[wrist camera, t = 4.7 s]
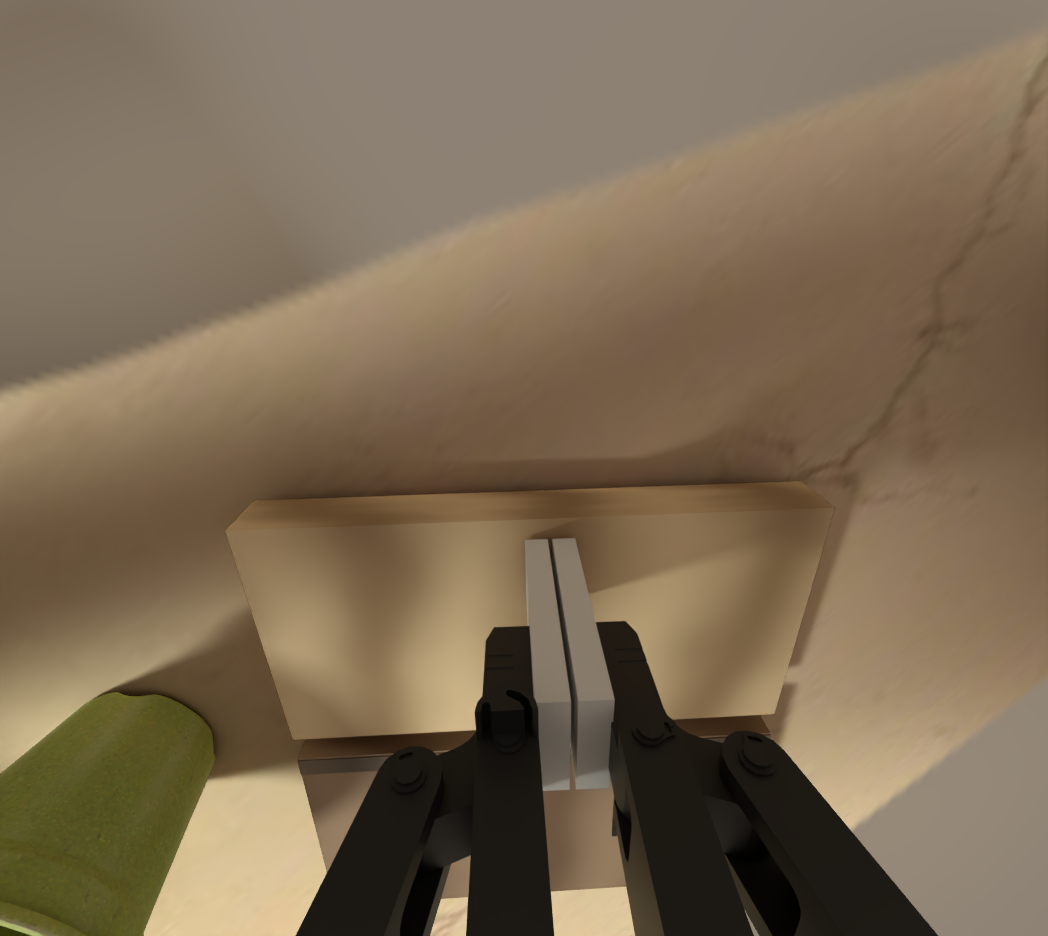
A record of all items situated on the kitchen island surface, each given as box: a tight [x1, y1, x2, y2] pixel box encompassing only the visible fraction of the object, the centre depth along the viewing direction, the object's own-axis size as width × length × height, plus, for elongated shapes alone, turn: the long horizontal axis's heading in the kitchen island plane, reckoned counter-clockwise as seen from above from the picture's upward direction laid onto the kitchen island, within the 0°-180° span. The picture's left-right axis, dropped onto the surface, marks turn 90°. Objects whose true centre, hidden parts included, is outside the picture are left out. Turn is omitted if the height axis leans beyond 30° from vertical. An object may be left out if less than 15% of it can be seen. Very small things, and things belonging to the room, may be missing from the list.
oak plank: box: [225, 481, 835, 740], centre depth 19 cm, size 20×10×2 cm, turn 91°
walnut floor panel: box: [298, 715, 770, 899], centre depth 23 cm, size 20×10×2 cm, turn 91°
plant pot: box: [0, 692, 216, 936], centre depth 18 cm, size 9×9×9 cm
